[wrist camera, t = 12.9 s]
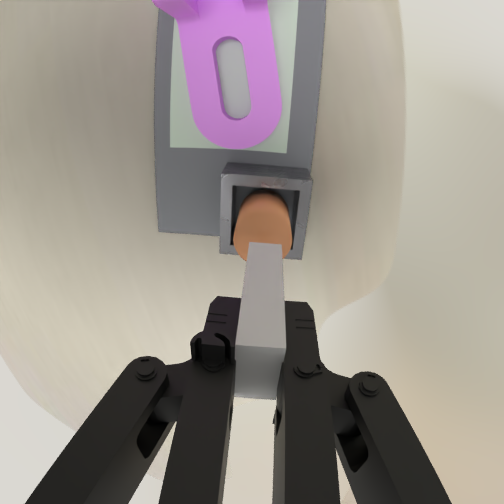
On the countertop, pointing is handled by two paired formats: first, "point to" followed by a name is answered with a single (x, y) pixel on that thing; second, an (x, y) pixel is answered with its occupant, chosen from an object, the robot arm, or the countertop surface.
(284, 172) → the button housing
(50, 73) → the countertop surface
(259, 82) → the bracket
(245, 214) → the button
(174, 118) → the grey flat plate
